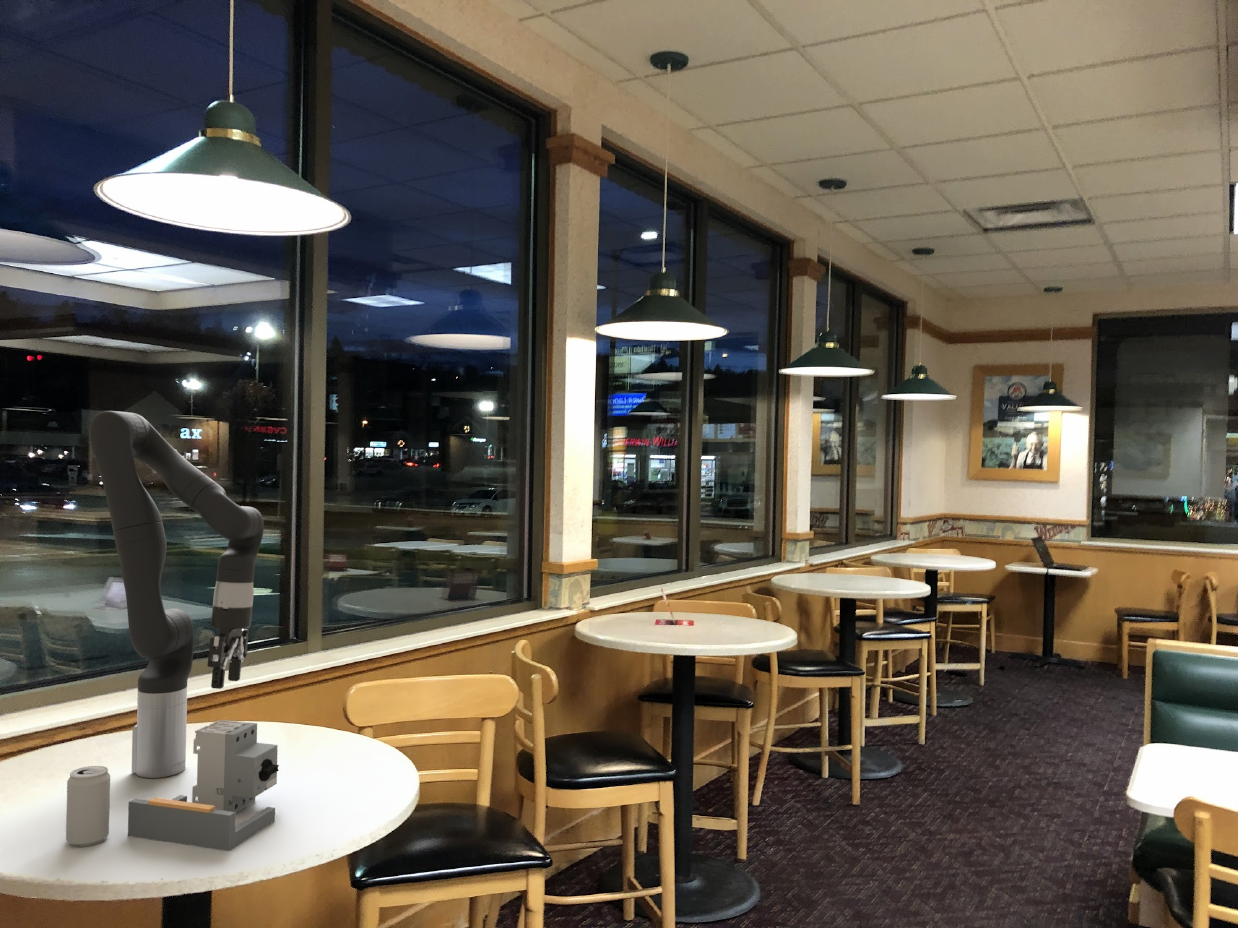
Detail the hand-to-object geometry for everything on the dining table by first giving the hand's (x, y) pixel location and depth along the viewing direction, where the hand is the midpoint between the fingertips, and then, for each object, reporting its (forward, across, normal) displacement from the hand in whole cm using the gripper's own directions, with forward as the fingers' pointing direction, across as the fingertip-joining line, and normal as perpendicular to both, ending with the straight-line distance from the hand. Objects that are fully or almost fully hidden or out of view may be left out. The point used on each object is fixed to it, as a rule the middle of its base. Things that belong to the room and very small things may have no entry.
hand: (225, 684), depth 188 cm
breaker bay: (+21, +22, +7) cm, 31 cm away
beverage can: (+22, +28, -10) cm, 37 cm away
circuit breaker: (+20, +13, +9) cm, 26 cm away
